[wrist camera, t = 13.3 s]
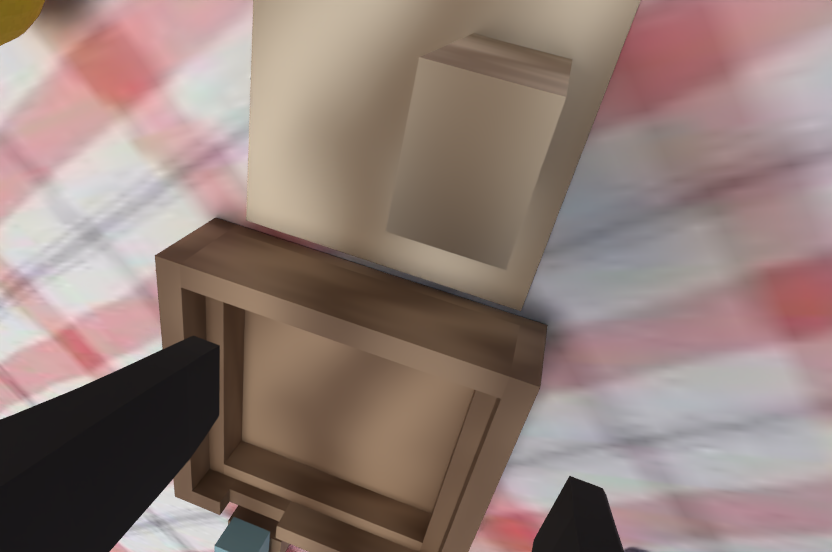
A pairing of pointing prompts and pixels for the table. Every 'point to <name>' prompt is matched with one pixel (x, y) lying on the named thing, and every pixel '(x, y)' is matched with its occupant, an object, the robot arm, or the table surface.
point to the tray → (345, 394)
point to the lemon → (17, 17)
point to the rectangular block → (243, 538)
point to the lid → (427, 128)
